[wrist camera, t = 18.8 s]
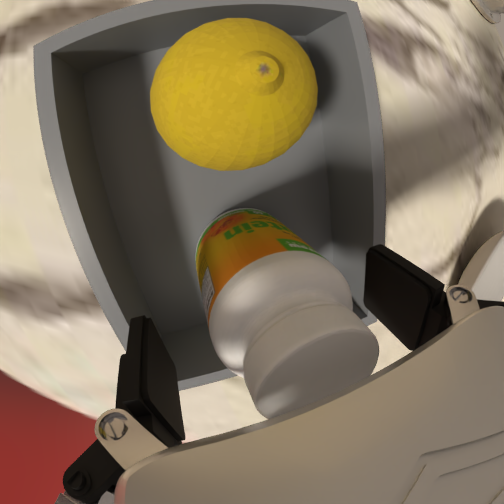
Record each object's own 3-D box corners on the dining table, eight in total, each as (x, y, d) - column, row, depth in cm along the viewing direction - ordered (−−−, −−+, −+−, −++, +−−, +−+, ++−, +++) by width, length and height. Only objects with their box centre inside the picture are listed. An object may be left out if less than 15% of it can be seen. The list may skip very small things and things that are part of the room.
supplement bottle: (291, 205, 15) (421, 289, 7) (282, 290, 17) (367, 408, 9) (193, 206, 14) (227, 321, 5) (195, 297, 16) (228, 447, 7)
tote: (72, 70, 9) (33, 46, 5) (308, 29, 12) (357, 2, 7) (154, 338, 17) (155, 395, 13) (336, 283, 20) (376, 321, 15)
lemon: (167, 55, 10) (167, -35, 3) (273, 70, 12) (371, 20, 5) (150, 159, 12) (119, 180, 5) (258, 168, 14) (349, 201, 7)
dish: (430, 345, 30) (452, 366, 26) (410, 293, 23) (444, 320, 19) (496, 257, 29) (519, 270, 24) (490, 184, 22) (522, 196, 17)
